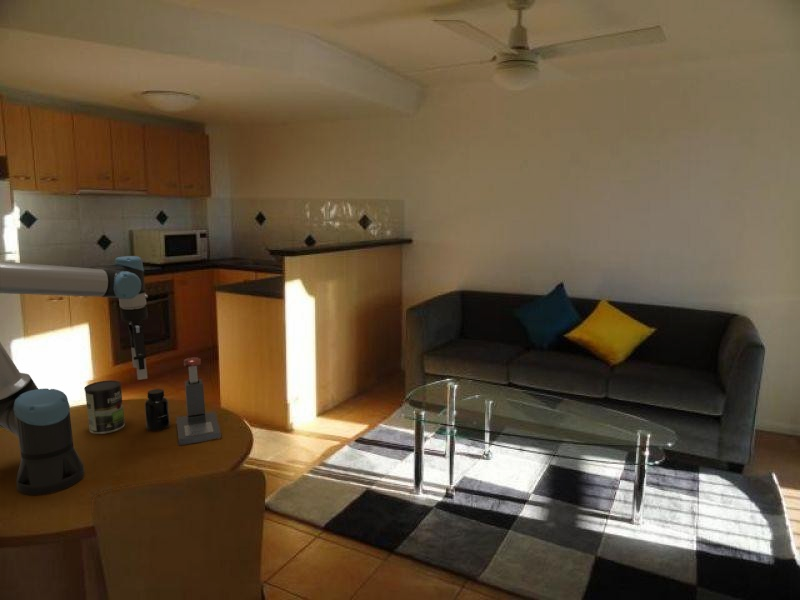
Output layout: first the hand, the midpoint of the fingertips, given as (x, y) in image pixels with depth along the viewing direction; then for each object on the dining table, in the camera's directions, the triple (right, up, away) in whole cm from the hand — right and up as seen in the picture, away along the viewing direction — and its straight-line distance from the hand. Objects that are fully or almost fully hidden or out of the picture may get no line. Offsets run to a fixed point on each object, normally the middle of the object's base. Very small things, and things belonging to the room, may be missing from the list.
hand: (140, 372), depth 181 cm
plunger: (+16, -8, +3) cm, 18 cm away
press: (+18, -18, 0) cm, 26 cm away
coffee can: (-12, -18, +2) cm, 21 cm away
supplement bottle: (+5, -18, +3) cm, 19 cm away
